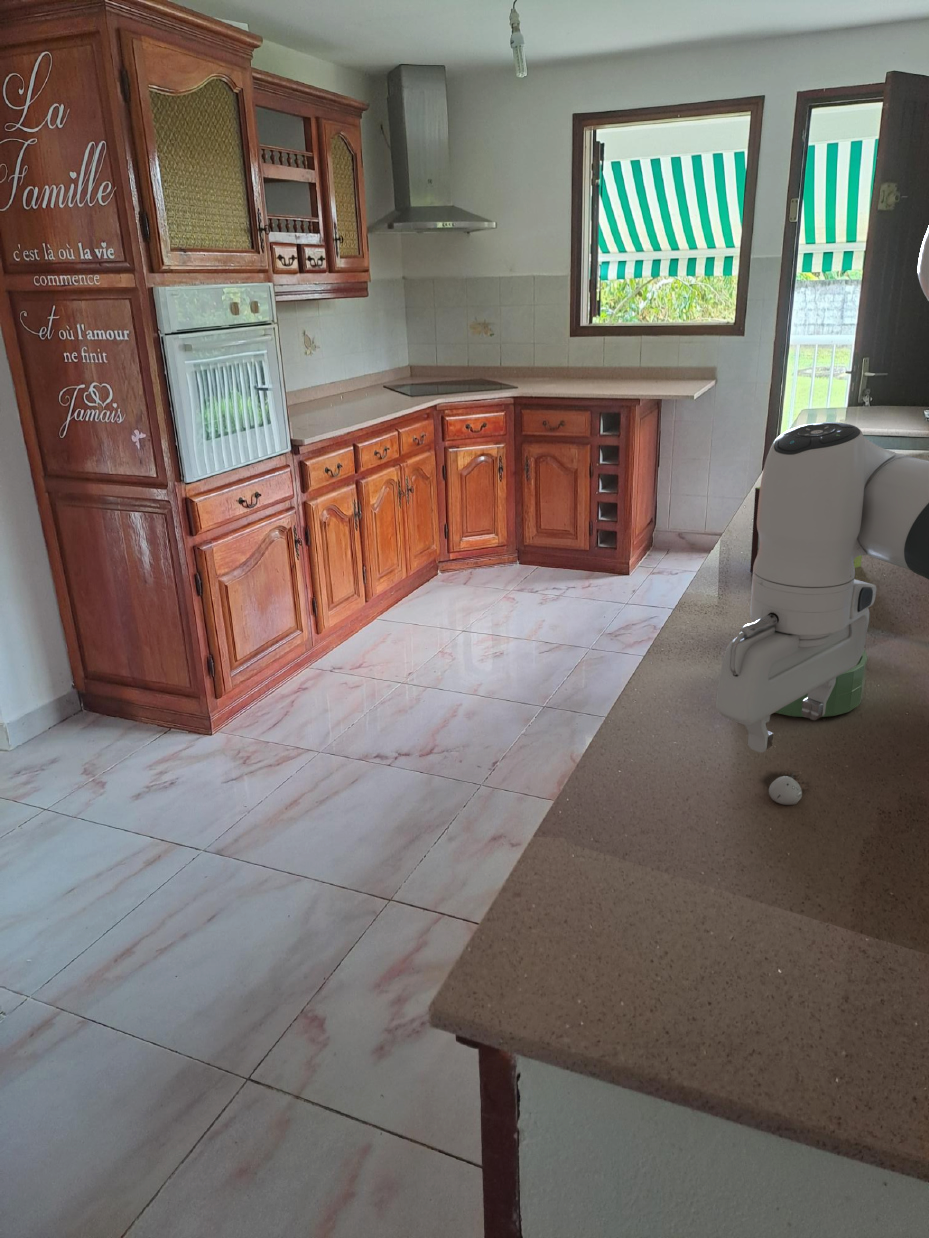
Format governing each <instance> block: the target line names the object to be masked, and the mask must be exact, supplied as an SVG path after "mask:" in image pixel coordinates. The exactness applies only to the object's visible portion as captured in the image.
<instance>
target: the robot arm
mask: <svg viewBox="0 0 929 1238" xmlns="http://www.w3.org/2000/svg"><path fill="white" fill-rule="evenodd" d="M918 256H919V257H918V262H917V269H916V270H917V278H918V280H919V284H920V287H921V290H922V292H923V294H924V296H925V297H926V299H927V301H928V302H929V226H928V227H927V230H926V232H925V235H924V237H923V241H922V243H921V247H920V252H919V255H918ZM763 465H764V466H763V470H762V475H761V479H760V485H759V487H760V493H759V502H758V513H757V530H758V534H759V541H760V545H759V551H758V554H757V557H756V559H755V562H754V566H753V573H752V577H751V592H750V604H749V616H750V619H751V620H752V621H753V622H751V623H747V624H744V625H743V626H742V627H741V628H740V629H739V634H737V636H736V637H735V638H733V639H732V640H731V641H730V642H729V644H727V647H726V649H725V651H724V654H723V657H722V661H721V667H720V672H719V678H718V684H717V692H716V699H715V707H716V710H717V711H718V713H719V714H720V716H721V717H723V718H725V719H729V720H730V721H732V722H735V723H737V724H740V725H743V726H744V727H745V729H746V732H747V747H748V748H749V749H750V750H752V751H755V752H757V753H760V754H762V753H764V752H766V751H767V750H769V749H770V748H772V746H773V740H774V732H772V731H770V730H768V727H767V723H769V722H770V719H771V715H772V714H774V712H776V711H778V710H779V709H781V708H783V707H785V706H786V705H788V704H790V703H792V702H793V701H795V700H797V699H799V698H800V697H802V696H804V695H806V694H808V696H807V698H806V699H804V700H803V703H802V707H803V708H802V715H803V716H804V717H803V718H806V719H810V720H812V721H817V720H818V719H820V718H822V716H823V715H824V714H825V709H826V701H827V700H828V698H829V696H830V694H831V692H832V690H833V687H834V685H835V682H836V677H837V676H839V675H841V674H843V673H844V672H846V671H848V670H850V669H851V668H853V667H855V666H856V665H857V663H858V662H859V660H860V658H861V656H862V654H863V650H864V649H865V646H866V641H867V636H868V630H869V622H870V607H871V606H873V605H874V604H875V600H876V597H877V585H876V584H874V583H869V582H866V581H862V580H859V579H856V578H855V577H856V570H855V569H856V567H854V559H855V558H856V557H857V556H860V555H862V556H865V555H866V556H867V555H868V556H869V557H871V558H873V559H876V560H879V561H882V562H885V563H887V564H891V565H894V566H898V567H900V568H903V569H906V570H909V571H911V572H913V573H914V574H915V575H918V576H920V577H922V578H925V579H927V580H929V460H927V459H921V458H917V457H915V456H913V455H906V454H902V453H897V452H895V451H892V450H889V449H886V448H884V447H881V446H879V445H877V444H875V443H874V442H871V440H869V439H868V438H866V437H865V436H864V434H863V431H862V430H861V429H860V428H859V427H858V426H856V425H853V424H849V423H845V422H838V421H837V422H836V421H825V422H817V423H807V424H801V425H798V426H795V427H793V428H790V429H788V430H785V431H784V432H783V433H781V434H780V435H778V436H777V437H776V438H775V439H774V440H773V442H772V444H771V446H770V448H769V450H768V454H767V455H766V458H765V462H764V464H763Z"/></svg>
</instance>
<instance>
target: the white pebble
mask: <svg viewBox="0 0 929 1238" xmlns="http://www.w3.org/2000/svg"><path fill="white" fill-rule="evenodd" d="M795 772H796V770H794V771H793V772H792V773H791V774H790V776H788V775H783V776H779V777H777V778H776V779H774V780H773V781H772V782H771V784H769V787H768V795H769V797H770V798H771V800H772V801H774V802H775V803H777V804H779V805H784V806H793V805H797V804H798V803H799V801H800V800H801V799H802V797H803V791H802V787H801V785H800V784H799V782H798V781H797V780H795V779H794V776H795V775H794V774H795Z"/></svg>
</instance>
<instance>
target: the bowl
mask: <svg viewBox="0 0 929 1238" xmlns="http://www.w3.org/2000/svg"><path fill="white" fill-rule="evenodd" d="M868 661H869V657H868V654H867V652H866V650H865V648H864V650H863V654H862V656H861V658H860V660H859V662H858V663H857V665H856V666H855V667H853V668H851V669H850V670H848V671H846V672H844V673H843V674H841V675H839V676H837V677H836V682H835V685H834V687H833V690H832V692H831V694H830V696H829V698H828V700H827V701H826V709H825V714H824V715H823V716H822V717H823V718H827V717H835V716H838V715H843V714H846V713H850V712H851V711H853V710H854V709H856V708H857V707H859V706H860V705H861V702H862V700H863V699H864V693H865V684H866V677H867V668H868ZM807 696H808V694H806V695H804V696H802V697H800V698H799V699H797V700H795V701H793V702H792V703H790V704H788V705H786V706H785V707H783V708H781V709H779V710H778V711H776V712H774V713H775V714H779V715H783V716H788V717H799V718H805V717H804V716H803V715H802V708H803V707H802V703H803V700H804V699H806V698H807ZM774 713H773V714H774ZM822 717H821V718H822Z"/></svg>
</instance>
